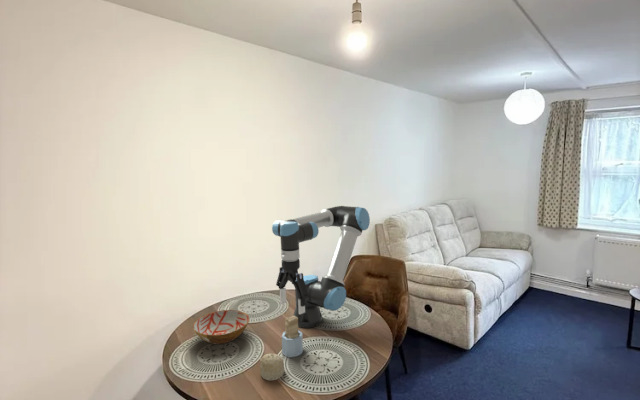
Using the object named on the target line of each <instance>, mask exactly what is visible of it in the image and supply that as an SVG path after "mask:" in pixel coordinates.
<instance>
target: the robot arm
mask: <svg viewBox="0 0 640 400" xmlns="http://www.w3.org/2000/svg"><path fill="white" fill-rule="evenodd" d="M370 219H371V218H370V213H369V211H368V210H367V209H366V208H364V207H360V206H347V205H346V206H345V205H337V206H333V207H329V208H325V209H321V211H320V212H316V213H312V214H307V215H304V216H298V217H295V218H292V219H291V218H289V219H286V220H283V219H280V220H279V219H277V220H275V221H274V222H273V224H272V226H271V232H272V233H273V235H275V236H277V237H280V250H281V251H280V252H281V253H280V254H281V266H280V267H279V271H278V272H279V273H278V276H277V280H276V284H275V285H276V287H278V290H279V300H280V301H279V303H280V304H281V305H282V304H286V303H287V287H286V285H287V283H288V282H291V284H292V285H293V286H294V290H295V291H294V292H295V293H294V295H295V309H294V313H293V315H292V316H296V317H298V328H305V329H306V328H313V327H317V326H319V325H320V324H322V322H323V314H322V311H321V309H320V308H323V309H325V310H329V311H334V312H335V311H338V310H339V309H341V308H342V307H343V305H344V303H345V302H346V299H347V290H346V288H345V286H346V284H345V282H344V278H345V276H346V273H347V269H348V266H349V263H350V261H351V258H352V255H353V251H354V248H355V245H356V241H357V239H358V237H360V236H361V235H362V233H363V231H366V230H368V229H369V226H370V223H371V222H370ZM323 227H326V228H329V227H337V228H339V229H340V232H341V233H340V235H339V238H338V241H337V243H336V247H335V250H334V252H333V255H332V258H331V261H330V264H329V266H328V268H327V269H328V270H327V272H326V275H324V276H322V278H321V280H319V277H318V275H315V274H306V275H304V274H303V272H301V273H299V272H298V271H299V269H300V268H301V267H300V266H301V265H300V263H301V262H300V243H304V242H306V241H311V240H314V239H315V238H317V237H318V235H319V228H323Z"/></svg>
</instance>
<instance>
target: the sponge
mask: <svg viewBox="0 0 640 400" xmlns="http://www.w3.org/2000/svg"><path fill="white" fill-rule="evenodd" d="M259 364H260V366H259V369H260V376H261V378H262V379H264V380H266V381H268V382H269V381H270V382H271V381H277V380H279V379H280V378H282V377H283V375H284V374H285V363H284V359H283V358H282V356H281V355H279V354H276V353H265V354H263V356H262V357H261V359H260V363H259Z"/></svg>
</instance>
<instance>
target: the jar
mask: <svg viewBox="0 0 640 400" xmlns="http://www.w3.org/2000/svg"><path fill="white" fill-rule="evenodd" d="M303 338H304V337H303V332H302V331H300V330H299V329H298V337H297V338H294V339H291V338H286V330H285V331H283V332H282V335H281V352H282V355H283V356H284V357H287V358H297V357H299V356H301V355H302V354H303V352H304V344H303V343H304V339H303Z"/></svg>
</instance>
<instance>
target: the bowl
mask: <svg viewBox="0 0 640 400" xmlns="http://www.w3.org/2000/svg"><path fill="white" fill-rule="evenodd" d="M249 322H250V316H249V315H248V314H247V313H246V312H244V311H241V310H238V309H237V310H236V309H226V310H217V311H213V312H210V313H207V314H205V315H202V316H201V317H199V318H197V319H196V320H195V321H194V323H192V329H193V331H194V333H195V334H196V335H197V336H198V338H200V340H203V341H205V343H209V344H213V345H224V343H225V344H228V343H230V342H232V341H234V340H235V339H237V338H238V337H240V336H241V335H242V333H243V332H244V331H245V330H246V328H247V326H248V324H249Z"/></svg>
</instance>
